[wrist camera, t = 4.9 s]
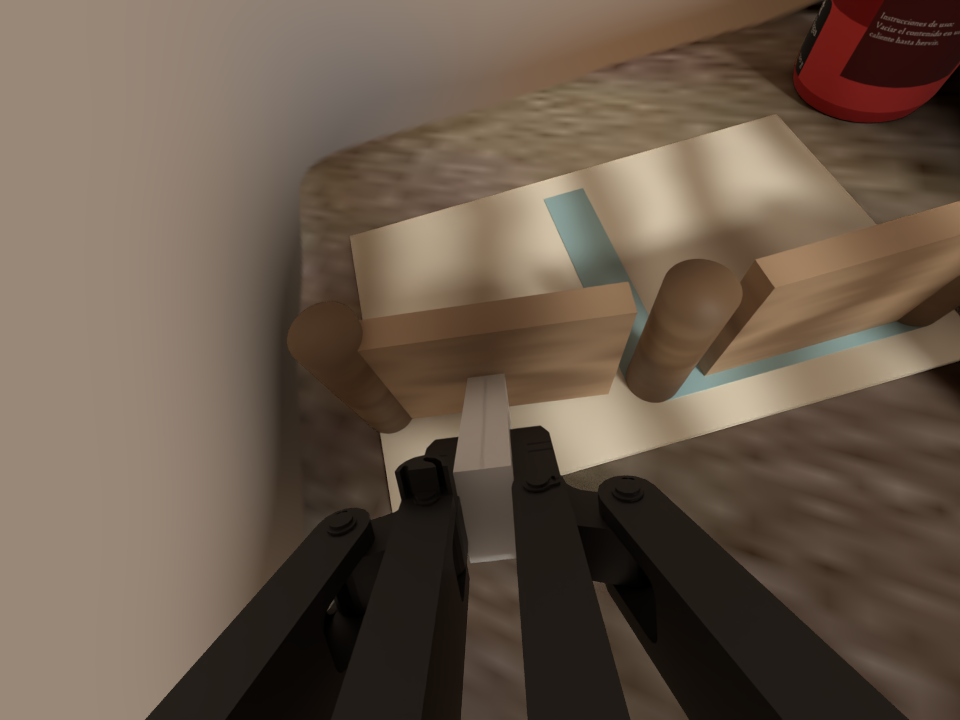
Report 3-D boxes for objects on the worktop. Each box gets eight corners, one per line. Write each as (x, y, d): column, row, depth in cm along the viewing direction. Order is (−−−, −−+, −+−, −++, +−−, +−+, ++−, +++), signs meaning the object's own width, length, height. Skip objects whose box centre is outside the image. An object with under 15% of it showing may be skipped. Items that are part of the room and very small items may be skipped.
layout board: (773, 120, 27) (776, 113, 27) (983, 354, 20) (992, 349, 19) (352, 240, 27) (349, 235, 27) (396, 522, 20) (393, 521, 19)
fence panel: (600, 359, 21) (627, 257, 14) (611, 406, 20) (645, 320, 13) (367, 389, 22) (291, 306, 15) (365, 436, 21) (283, 369, 14)
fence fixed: (638, 409, 20) (685, 324, 13) (617, 363, 21) (652, 264, 15) (952, 318, 20) (1154, 190, 14) (915, 278, 21) (1086, 140, 15)
